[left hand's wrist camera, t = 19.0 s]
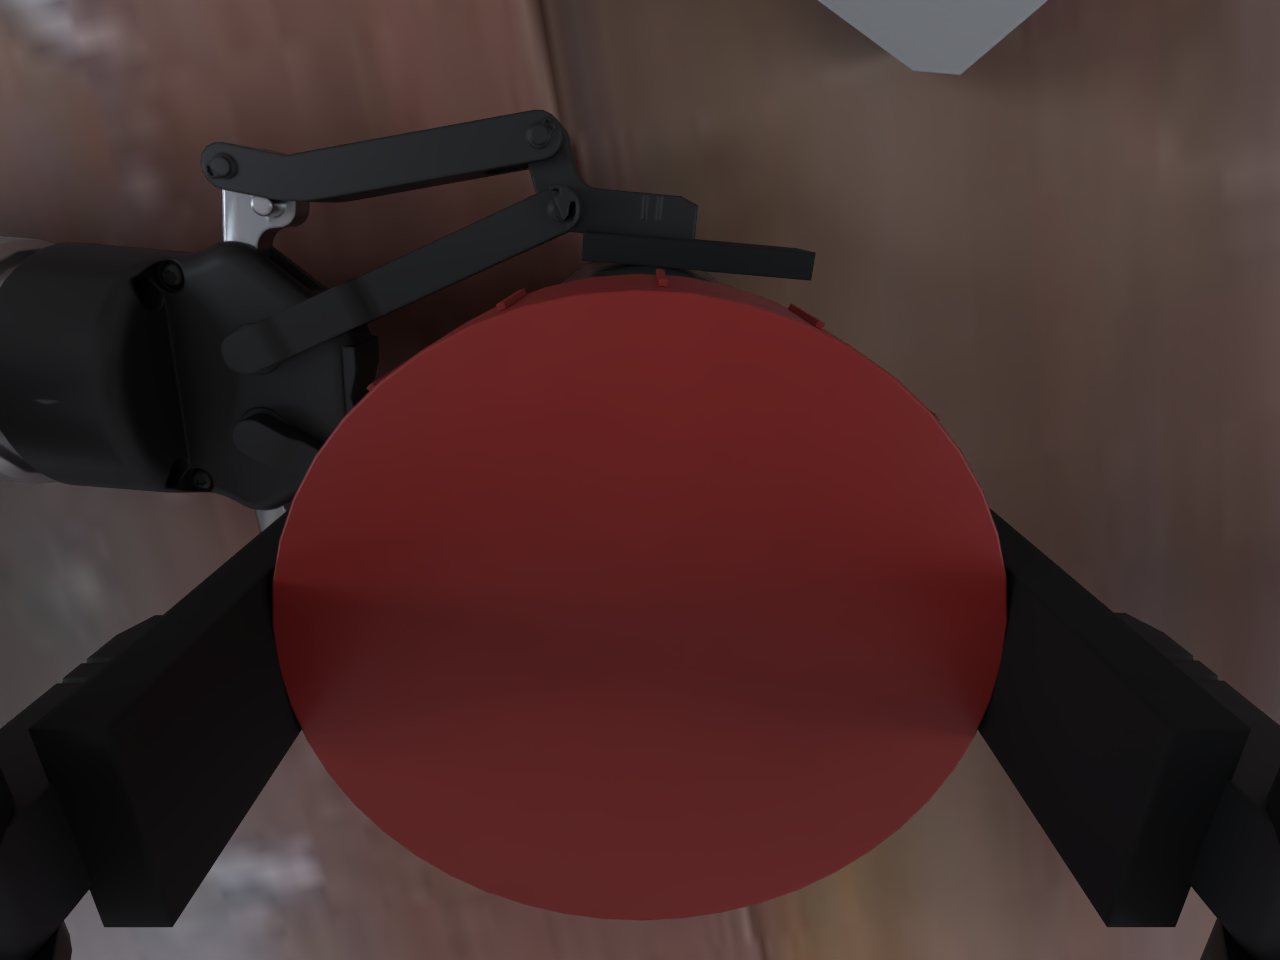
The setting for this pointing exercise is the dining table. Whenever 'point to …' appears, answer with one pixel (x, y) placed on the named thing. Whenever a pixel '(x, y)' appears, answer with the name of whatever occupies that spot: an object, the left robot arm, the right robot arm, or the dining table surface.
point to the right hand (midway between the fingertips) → (777, 423)
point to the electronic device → (935, 28)
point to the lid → (639, 600)
